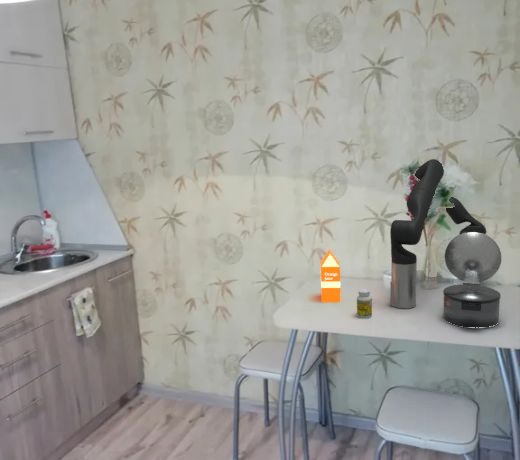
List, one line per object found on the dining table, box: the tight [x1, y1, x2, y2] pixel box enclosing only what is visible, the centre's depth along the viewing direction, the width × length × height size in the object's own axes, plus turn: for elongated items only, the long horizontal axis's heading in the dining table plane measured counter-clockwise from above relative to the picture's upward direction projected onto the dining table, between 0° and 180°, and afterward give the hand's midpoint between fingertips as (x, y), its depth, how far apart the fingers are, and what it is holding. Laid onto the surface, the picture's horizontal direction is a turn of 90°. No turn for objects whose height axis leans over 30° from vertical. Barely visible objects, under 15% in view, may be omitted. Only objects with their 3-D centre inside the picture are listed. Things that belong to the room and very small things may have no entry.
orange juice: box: [319, 249, 342, 303], centre depth 203 cm, size 8×9×20 cm
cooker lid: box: [444, 225, 502, 284], centre depth 182 cm, size 19×21×4 cm
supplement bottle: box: [356, 288, 373, 319], centre depth 183 cm, size 5×5×10 cm
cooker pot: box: [442, 282, 502, 328], centre depth 175 cm, size 18×22×10 cm
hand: (472, 248), depth 182 cm, fingers closed
